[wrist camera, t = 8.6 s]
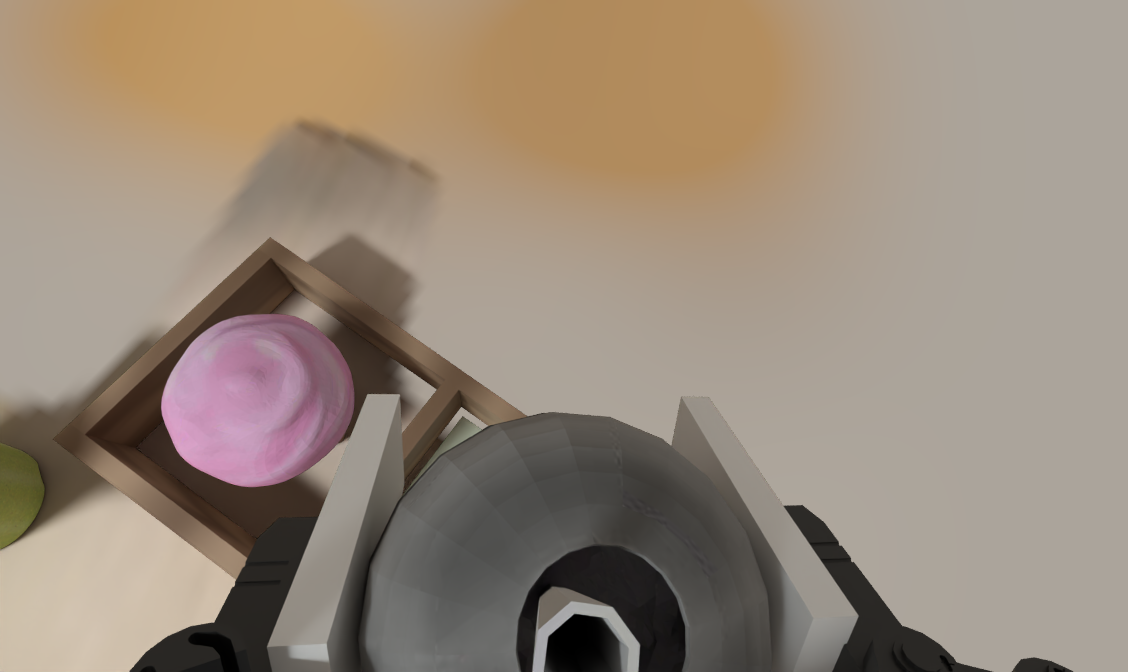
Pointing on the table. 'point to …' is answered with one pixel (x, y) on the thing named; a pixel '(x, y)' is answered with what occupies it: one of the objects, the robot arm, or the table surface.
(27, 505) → the plant pot
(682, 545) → the beverage cup
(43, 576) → the table surface
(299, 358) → the cupcake
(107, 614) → the table surface
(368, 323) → the tray
